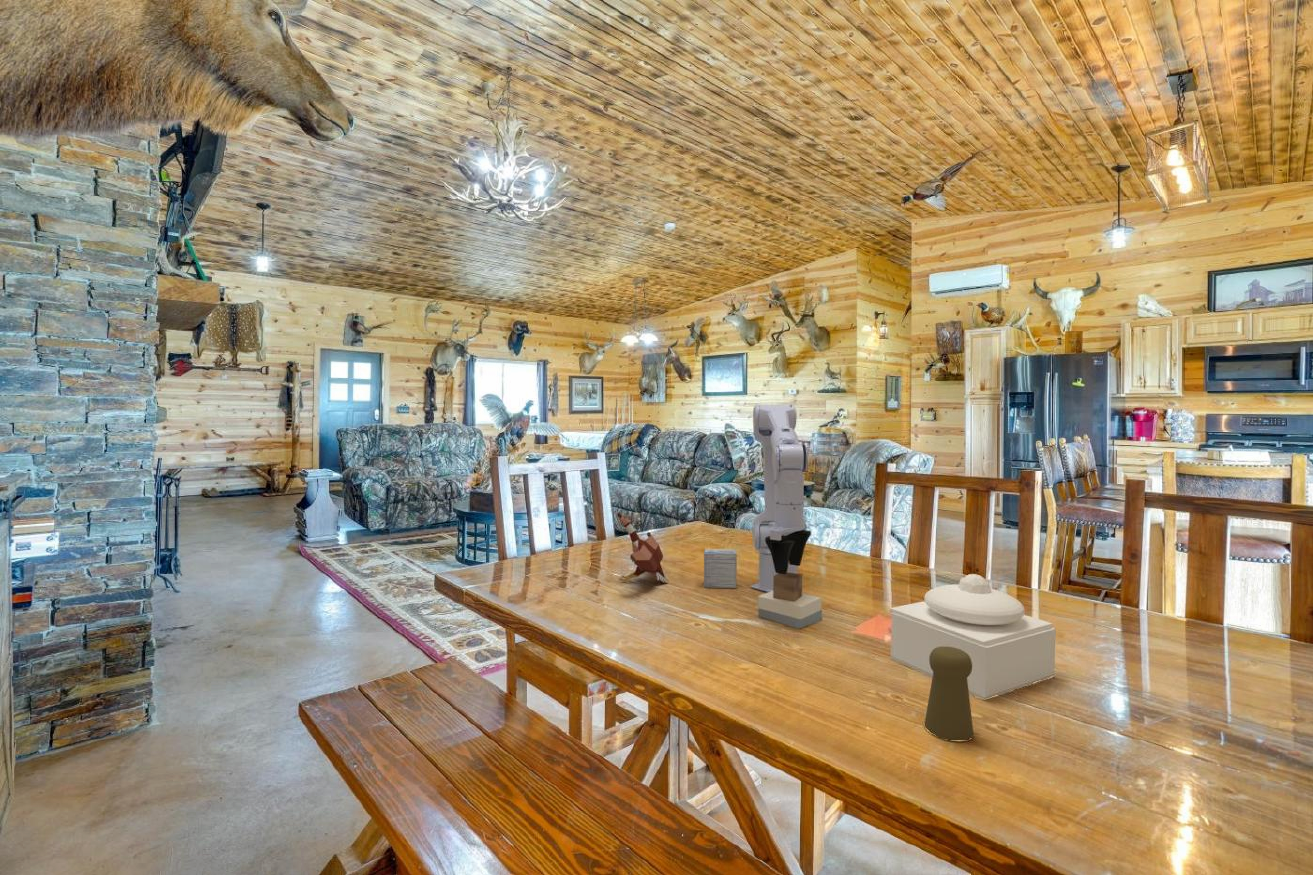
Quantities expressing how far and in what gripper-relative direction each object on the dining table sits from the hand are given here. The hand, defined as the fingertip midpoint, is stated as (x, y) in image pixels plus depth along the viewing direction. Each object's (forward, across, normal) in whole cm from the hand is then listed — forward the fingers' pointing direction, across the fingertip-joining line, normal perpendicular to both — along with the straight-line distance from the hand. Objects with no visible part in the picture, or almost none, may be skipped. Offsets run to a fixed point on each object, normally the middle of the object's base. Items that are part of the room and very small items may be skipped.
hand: (788, 569), depth 127 cm
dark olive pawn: (+10, +30, +34) cm, 47 cm away
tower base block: (+11, -1, 0) cm, 11 cm away
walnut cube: (+6, 0, 0) cm, 6 cm away
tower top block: (+8, 0, 0) cm, 8 cm away
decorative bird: (+11, -6, -40) cm, 42 cm away
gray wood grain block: (+11, -13, -22) cm, 28 cm away
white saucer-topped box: (+11, +6, +34) cm, 36 cm away
